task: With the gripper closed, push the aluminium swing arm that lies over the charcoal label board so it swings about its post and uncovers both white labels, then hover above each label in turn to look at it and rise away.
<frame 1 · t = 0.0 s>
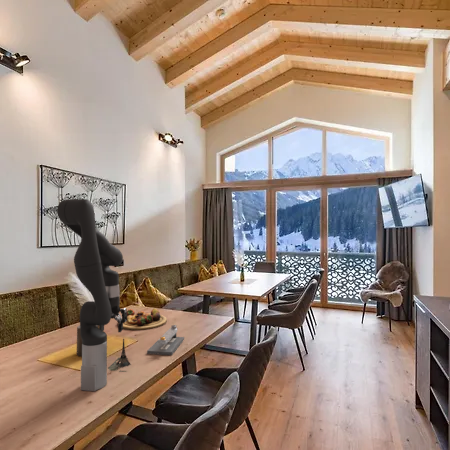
hand: (111, 331, 137), 17 cm above the table, tool pointing down, fingers open, 8 cm apart
swing arm: (168, 337, 166), point 5 cm above the table, hinge at 0.0°
wooden plate with food: (142, 323, 208), on the table
pillar candle: (87, 353, 157), on the table
eiffel tower figurine: (122, 365, 143), on the table
label board: (166, 346, 165), on the table
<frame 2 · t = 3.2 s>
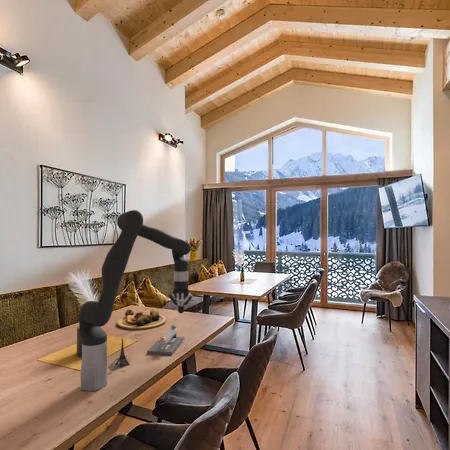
hand: (181, 313, 161), 19 cm above the table, tool pointing down, fingers closed
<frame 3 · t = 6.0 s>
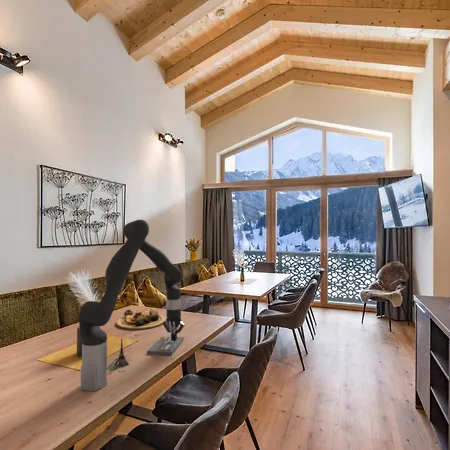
hand: (174, 340, 161), 4 cm above the table, tool pointing down, fingers closed
swing arm: (168, 337, 166), point 5 cm above the table, hinge at 0.2°, touching gripper
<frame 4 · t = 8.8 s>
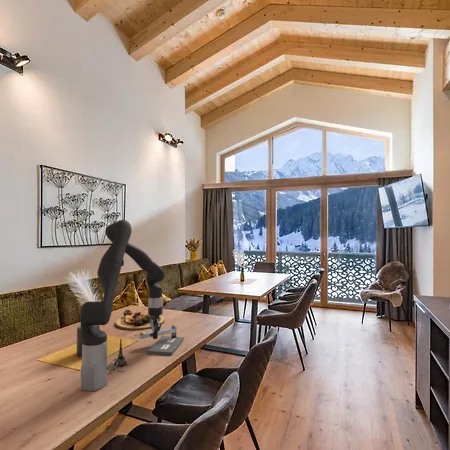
hand: (155, 338, 164), 5 cm above the table, tool pointing down, fingers closed
swing arm: (158, 334, 170), point 5 cm above the table, hinge at 48.2°, touching gripper
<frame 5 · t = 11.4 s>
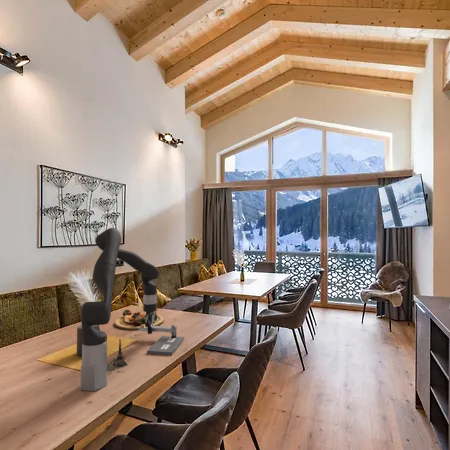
hand: (149, 333, 172), 5 cm above the table, tool pointing down, fingers closed
swing arm: (158, 330, 176), point 5 cm above the table, hinge at 90.3°, touching gripper
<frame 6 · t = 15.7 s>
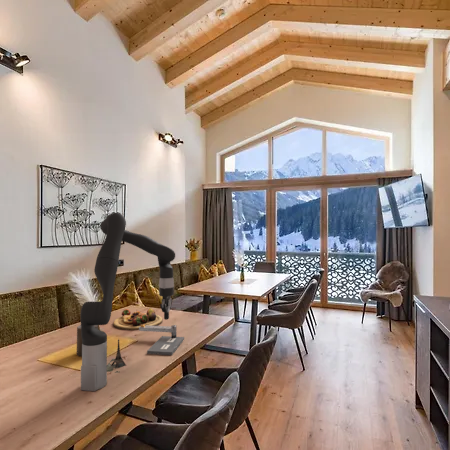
hand: (166, 319, 163), 15 cm above the table, tool pointing down, fingers closed
swing arm: (158, 330, 176), point 5 cm above the table, hinge at 90.4°
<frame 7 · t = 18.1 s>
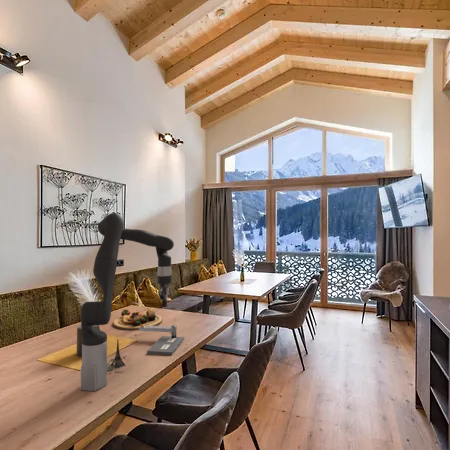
hand: (164, 306, 167), 21 cm above the table, tool pointing down, fingers closed
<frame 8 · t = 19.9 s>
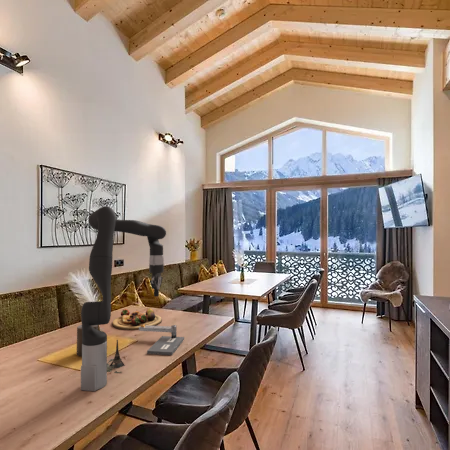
hand: (156, 296, 165), 27 cm above the table, tool pointing down, fingers closed
at the end: swing arm at +90° (first picture: +0°) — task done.
